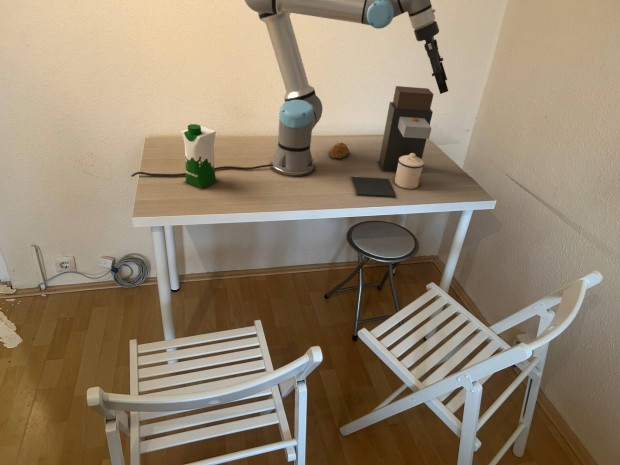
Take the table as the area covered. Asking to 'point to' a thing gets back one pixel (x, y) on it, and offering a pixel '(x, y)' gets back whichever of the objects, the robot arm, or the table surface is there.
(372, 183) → the rubber mat
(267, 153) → the table surface
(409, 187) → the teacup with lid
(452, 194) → the table surface
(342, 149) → the pastry
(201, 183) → the milk carton
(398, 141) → the coffee maker
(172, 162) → the table surface
